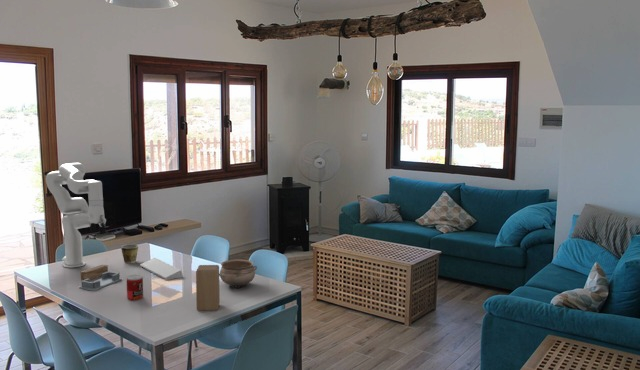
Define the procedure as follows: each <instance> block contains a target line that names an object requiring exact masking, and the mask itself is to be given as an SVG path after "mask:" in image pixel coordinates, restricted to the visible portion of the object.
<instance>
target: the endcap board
mask: <svg viewBox="0 0 640 370" xmlns="http://www.w3.org/2000/svg"><path fill="white" fill-rule="evenodd" d="M122 280H123V278H122V277H120V272H115V271H109V270H108V272H105V273H102V276H101V278H99V279H97V280H93V281H91V279H85V280H81V285H79V287H78V288H79V289H82V290H88V291H97V290H100V289H101V288H104V287H107V286H110V285H112V284H115V283H117V282H120V281H122Z"/></svg>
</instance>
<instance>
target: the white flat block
mask: <svg viewBox="0 0 640 370" xmlns="http://www.w3.org/2000/svg"><path fill="white" fill-rule="evenodd" d="M139 266H140V267H141V268H142V267H143V269H144V268H145V270H146V271H148V272H150V273H152V274H154V275H156V276H157V275H158V277H159V276H160V278H161V279H163V280H165V281H169V280H170V279H171V280H173V279H180V278H183V277H184V276H183V272H182V270H181V269H180V268H178V267H175V266H174V265H171V264H170V263H167V262H165V261H163V260H160V259H159V258H157V257H153V258H152V259H149V260H147V261H145V262H142V263H140V264H139ZM171 280H170V281H171Z"/></svg>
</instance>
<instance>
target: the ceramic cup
mask: <svg viewBox="0 0 640 370" xmlns="http://www.w3.org/2000/svg"><path fill="white" fill-rule="evenodd" d="M120 249H121V253H122V258H123V262H124V263H125V264H135V263H136V262H137V257H138V253H139V252H138V251H139V245H138V244H123V245H121V246H120ZM134 262H135V263H134Z"/></svg>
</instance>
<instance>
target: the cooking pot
mask: <svg viewBox="0 0 640 370" xmlns="http://www.w3.org/2000/svg"><path fill="white" fill-rule="evenodd" d="M254 264H255V263H254V262H253V261H251V260H248V259H238V258H237V259H230V260H229V259H228V260H225V261H223V262H220V265H221V268H220V269H219V279H221V281H222V283H224V284H226V285H229V286H230V287H232V288H242V287H244V286H246V285H248V284H250V283H251V282H252V281H253V279H255V275H256V270H258V265H254Z"/></svg>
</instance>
